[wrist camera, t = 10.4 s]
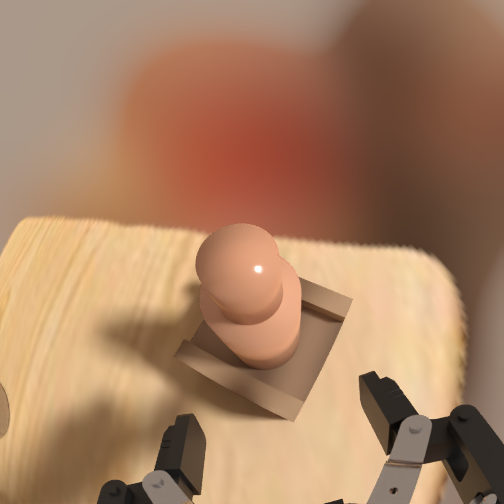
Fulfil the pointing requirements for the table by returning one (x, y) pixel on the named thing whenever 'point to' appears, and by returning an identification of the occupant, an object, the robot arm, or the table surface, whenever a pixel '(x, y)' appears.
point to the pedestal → (286, 376)
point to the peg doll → (250, 295)
